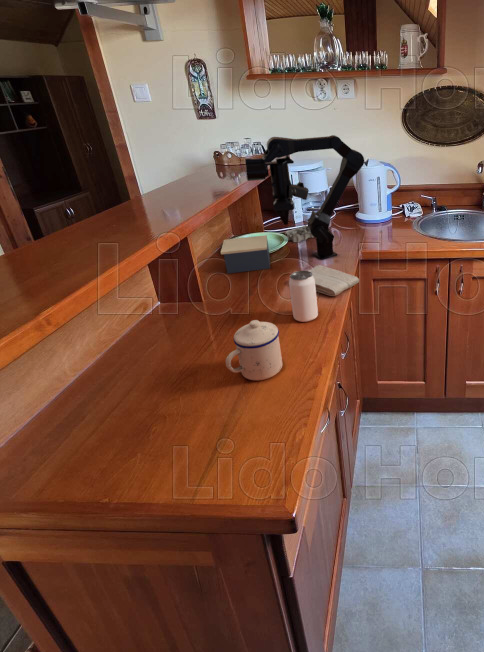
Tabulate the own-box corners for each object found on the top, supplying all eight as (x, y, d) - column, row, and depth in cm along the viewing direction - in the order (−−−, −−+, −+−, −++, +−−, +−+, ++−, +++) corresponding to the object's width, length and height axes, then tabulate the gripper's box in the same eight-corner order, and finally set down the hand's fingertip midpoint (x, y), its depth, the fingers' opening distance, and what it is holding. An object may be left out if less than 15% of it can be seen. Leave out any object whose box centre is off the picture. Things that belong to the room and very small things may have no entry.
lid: (220, 254, 135) (220, 252, 134) (224, 241, 146) (224, 239, 145) (267, 249, 138) (266, 247, 137) (267, 237, 149) (266, 235, 149)
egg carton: (295, 243, 162) (294, 233, 161) (284, 239, 167) (283, 229, 166) (317, 236, 169) (316, 227, 167) (307, 232, 174) (305, 223, 172)
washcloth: (318, 270, 138) (317, 262, 136) (361, 283, 128) (360, 274, 127) (291, 284, 129) (290, 274, 128) (335, 298, 119) (334, 289, 118)
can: (294, 324, 107) (289, 282, 102) (292, 312, 113) (287, 271, 108) (319, 320, 108) (315, 278, 104) (316, 308, 114) (312, 268, 109)
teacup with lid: (267, 351, 96) (260, 306, 92) (292, 366, 91) (285, 320, 86) (219, 377, 88) (208, 329, 83) (243, 395, 83) (233, 346, 78)
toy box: (227, 273, 138) (223, 254, 135) (230, 259, 149) (226, 241, 146) (269, 268, 140) (267, 249, 138) (269, 255, 152) (267, 237, 149)
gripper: (308, 182, 129) (312, 230, 135) (303, 171, 145) (307, 214, 152) (270, 184, 126) (277, 234, 133) (270, 173, 143) (276, 217, 149)
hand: (286, 224), depth 142 cm, fingers closed
